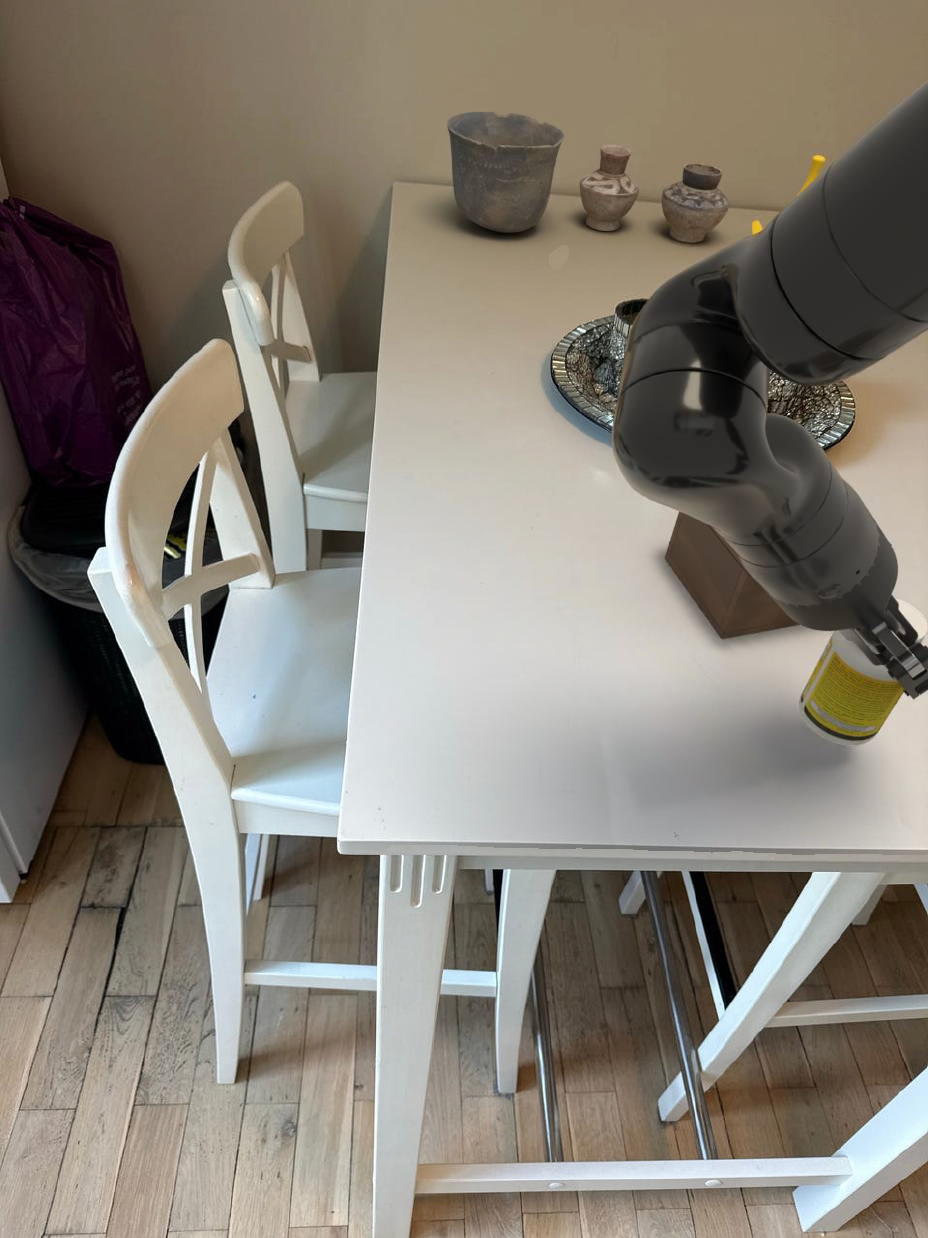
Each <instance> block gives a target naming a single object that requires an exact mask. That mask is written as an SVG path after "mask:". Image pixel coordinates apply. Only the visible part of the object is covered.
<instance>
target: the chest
mask: <svg viewBox="0 0 928 1238" xmlns="http://www.w3.org/2000/svg"><path fill="white" fill-rule="evenodd" d="M666 548H667V549H666V552H665V555H664V559H665V560H666V562H667V563H668V565H669V567H671V569H672V571H673V572H674V574H675V575H676V576H677V578H678V579H679V581H680V582H681V583H682V585H683V586H684V587H685V589H686V590H687V592H688V594H689V595H690V596H691V597H692V599H693V601H694V602H695V603H696V604H697V606H698V608H699V609H700V610H701V612H702V613H703V614H704V616H705V618H707V620H708V621H709V623H710V624H711V626H712V627H713V628H714V630H715V632H716V633H717V634H718V636H719V637H720V638H721V640H725V639H729V638H735V637H739V636H740V637H741V636H746V635H751V634H757V633H761V632H766V631H772V630H777V629H782V628H788V627H793V626H798V625H800V624H798V623H797V622H795V621H794V620H793V619H791V618H790V617H789V616H788V615H787V614H786V613H785V612H784V611H783V609H782V608H781V607H780V606H779V605H778V604H777V603H776V602H775V601H774V600H773V599H772V598H771V597H770V596H769V594H768V593H767V592H766V591H765V590H764V589H763V588H762V587H761V586H760V585H759V584H758V583H757V582H756V580H755V579H754V578H753V577H752V576H751V575H750V574H747V572H746V571H745V570H744V569H743V567H742V566H741V565H740V564H739V562H738V561H737V560H736V559H735V557H734V556H733V555H732V553H731V552H730V551H729V550H728V548H727V547H726V546H725V545H724V543H723V542H722V541H721V539H720V538H719V537H718V536H717V534H716V533H715V532H714V531H713V529H712V528H711V527H710V526H709V525H707V524H705V523H703V522H701V521H698V520H696V519H694V518H692V517H690V516H688V515H686V514H684V513H681V512H679V511H678V513H677V517H676V520H675V522H674V527H673V529H672V533H671V536H670V539H669V541H668V546H667V547H666ZM800 626H801V625H800Z"/></svg>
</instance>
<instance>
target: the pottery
mask: <svg viewBox="0 0 928 1238" xmlns="http://www.w3.org/2000/svg"><path fill="white" fill-rule="evenodd" d="M599 150H600V161H599V168H598V169H596V170H594V171H591V173H588V174H587V175H585V176H583V177H582V178H581V179H580V180H579V194H580V199H581V203H582V207H583V210H584V211H585V212H586V214H587V215H588V216H587V218H586V221H585V224H586V226H588V227H589V228H591V229H593V230H597V231H602V232H613V231H616V230H618V229H619V228H620V225H621V223H620V220H621V219H623V218H624V217H625V216H626V215H627V214H628V213H629V212H630V211H631V209H632V208H633V206H634V204H635V203H636V200H637V198H638V196H639V193H640V189H639V186H638V185H637V184H636V183H635V182H634V180H632V178H631V177H630V176H629V175H628V174H627V173H625V172H626V168H627V165H628V162H629V159H630V157H631V156H632V151H631V149H629V148H628V147H626V146H622V145H617V144H603V145H601V146H600V149H599ZM722 176H723V171H722V170H721V168H718V167H717V166H714V165H712V164H707V163H699V162H698V163H697V162H692V163H687V164H685V165H683V169H682V180H680V181H676V182H674V183H673V184H669V185H668V186H666V187H665V188H664V189H663V190H662V193H661V209H662V213H663V214H662V215H663V216H664V218H665V221H666V223H667V224H668V225H669V227H670V231H669V235H670V237H671V238H672V239H674V240H676V241H679V242H683V243H688V244H689V243H690V244H695V243H700V242H702V241H704V239H705V236H706V233H708V232H710V231H712V230H713V229H715V228H716V227H717V226H718V225H719V224H720V223H721V222H722V220H723V219H724V218H725V216H726V215H727V213H728V212H729V208H730V207H731V202H730V200H729V198H728V197H727V196H726V194H725V193H724V192H723V191H722V190H721V189H720V188H719V187H718V186H719V185H720V182H721V179H722Z"/></svg>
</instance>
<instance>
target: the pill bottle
mask: <svg viewBox="0 0 928 1238" xmlns="http://www.w3.org/2000/svg"><path fill="white" fill-rule="evenodd" d="M894 598H895V599H896V600H897V601H898V603H899V610H900V612H901V613H902V614H903V615H904V617H905V618H906V619H907V620H908V622H909V623H910V624H911V625H912V626H913V628H914V629H915V630H916V631H917V633H918V639H917V640H916V642H918V643H919V642H920V643H921V644H922V643H923V641H924V640H925V638H926V636H927V634H928V622H927V620H926V618H925V616H924V615H923V614H922V613H921V611H919V610H918V609H917V608H916V607H915V606H914V605H912V604H910V603H909V602H907V601H905V600H903V599H900V598H897V597H894ZM854 630H855V629H854ZM855 632H856V633H857V634H858V635H859V636H860V637H861V635H860V634H859V633H858V632H857V631H856V630H855ZM861 639H862V640H863V641H864V642H865V643H866V644H867V645H870V644H869V643H867V642H866V641H865V640H864V639H863V638H862V637H861ZM907 648H909V647H907ZM893 658H894V657H893V656H892V657H891V659H890V660H892V659H893ZM887 671H888V670H887V669H886V667H885V666H884V665H879V666H876V665H873V664H872V663H871V662H870V660H869V659H868V658H867V657H866V656H865V655H864V653H863V652H862V651H861V650H860V649H859V647H858V646H857V645H856V644H855V643H854V642H853V641H848V640H847V639H846V638H845V637H844V636H843V635H842V634H841V632H840V631H839V630H837V631H832V634H831V635H830V638H829V640H828V641H827V644H826V646H825V648H824V650H823V651H822V654H821V655H820V658H819V659H818V660H817V662H816V665H815V666H814V669H813V671H812V673H811V674H810V677H809V679H808V681H807V682H806V684H805V687H804V688H803V691H802V693H801V695H800V697H799V702H798V709H799V714H800V716H801V717H802V720H803V721H804V722H805V724H806V725H807V727H808V728H809V729H810V730H811V731H812V732H813V733H815V734H816V735H818V736H819V737H821V738H823V739H825V740H827V741H829V742H831V743H834V744H838V745H843V746H851V747H852V746H853V747H854V746H860V745H861V746H862V745H865V744H868V743H869V742H871V740H873V739H874V738H875V737H876V736H877V734H878V733H879V731H881V728H882V727H883V726H884V724H885V722H886V721H887V719H888V718H889V716H890V714H891V713H892V711H893V710H894V708H895V707H896V705H897V704H898V702H899V701H900V699H901V697H902V696H903V694H905V693H904V692H903V690H905V689H904V688H903V687H902V686H901V684H900V683H898V681H897V680H896V679H895V680H893V679H892V678H891V677H890V676H889V673H888V672H887Z"/></svg>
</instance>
